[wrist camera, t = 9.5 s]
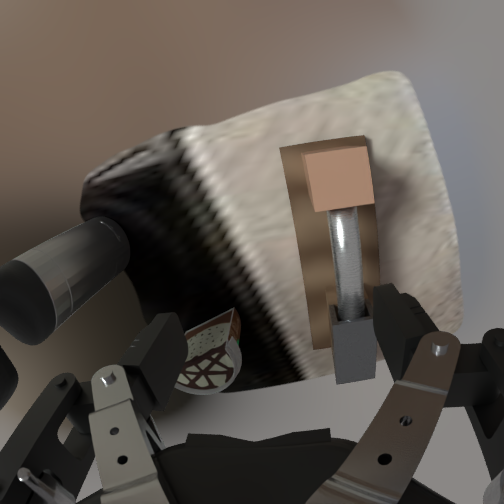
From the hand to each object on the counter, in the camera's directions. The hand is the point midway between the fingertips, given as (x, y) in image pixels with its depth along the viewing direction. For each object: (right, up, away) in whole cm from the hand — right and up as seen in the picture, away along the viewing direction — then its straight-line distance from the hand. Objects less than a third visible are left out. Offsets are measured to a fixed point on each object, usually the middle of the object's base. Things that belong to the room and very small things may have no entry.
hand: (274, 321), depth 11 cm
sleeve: (+11, -7, +22) cm, 26 cm away
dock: (+10, +3, +25) cm, 27 cm away
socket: (+8, +12, +21) cm, 25 cm away
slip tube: (+9, +2, +19) cm, 21 cm away
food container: (-5, -10, +32) cm, 34 cm away
